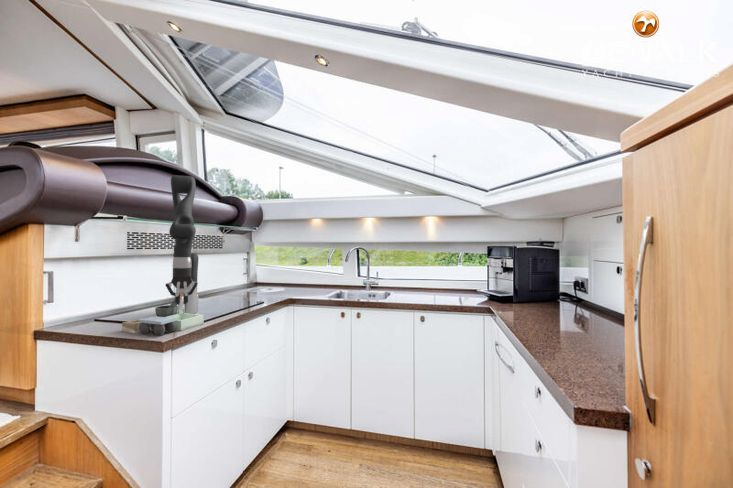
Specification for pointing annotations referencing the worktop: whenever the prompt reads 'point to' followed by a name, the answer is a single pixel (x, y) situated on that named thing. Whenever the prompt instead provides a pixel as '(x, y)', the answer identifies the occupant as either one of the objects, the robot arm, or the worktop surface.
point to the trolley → (157, 325)
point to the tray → (187, 321)
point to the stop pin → (181, 304)
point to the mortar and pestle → (166, 310)
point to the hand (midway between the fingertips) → (181, 304)
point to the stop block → (131, 326)
